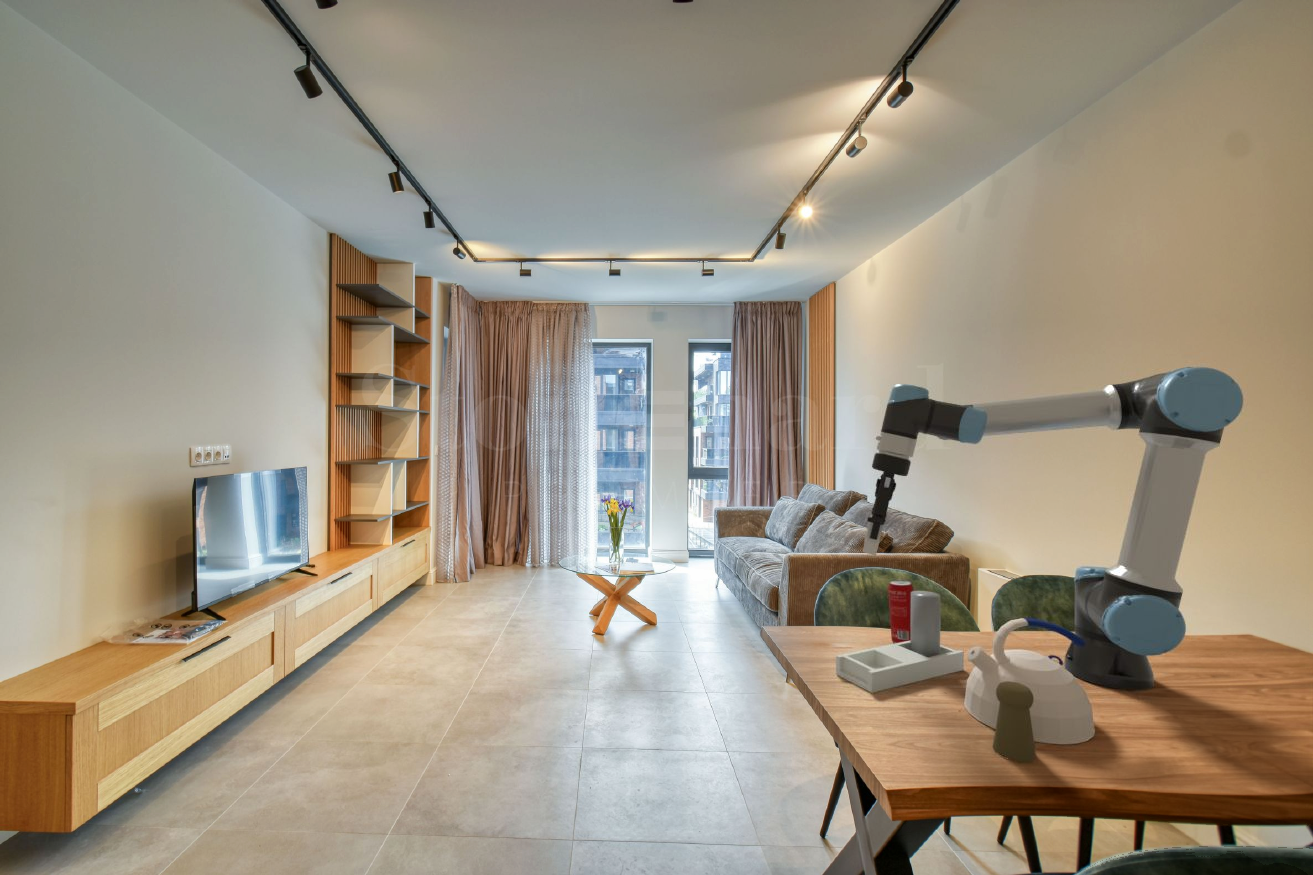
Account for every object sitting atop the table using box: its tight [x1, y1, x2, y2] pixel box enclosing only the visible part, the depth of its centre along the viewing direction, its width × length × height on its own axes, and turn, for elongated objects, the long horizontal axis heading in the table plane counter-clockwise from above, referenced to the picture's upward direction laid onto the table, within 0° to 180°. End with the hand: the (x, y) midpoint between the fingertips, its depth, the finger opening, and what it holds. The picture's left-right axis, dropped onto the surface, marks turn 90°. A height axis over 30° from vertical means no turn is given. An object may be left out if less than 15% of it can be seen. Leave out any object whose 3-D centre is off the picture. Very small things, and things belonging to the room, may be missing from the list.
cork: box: [992, 681, 1037, 764], centre depth 95 cm, size 6×6×11 cm
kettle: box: [963, 617, 1096, 746], centre depth 108 cm, size 20×21×18 cm
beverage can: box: [887, 579, 914, 644], centre depth 145 cm, size 6×6×15 cm
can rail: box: [835, 590, 965, 694], centre depth 127 cm, size 27×10×16 cm, turn 115°
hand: (869, 548), depth 130 cm, fingers open, 13 cm apart
